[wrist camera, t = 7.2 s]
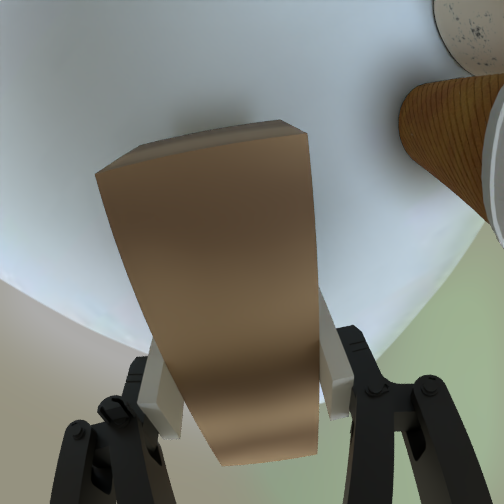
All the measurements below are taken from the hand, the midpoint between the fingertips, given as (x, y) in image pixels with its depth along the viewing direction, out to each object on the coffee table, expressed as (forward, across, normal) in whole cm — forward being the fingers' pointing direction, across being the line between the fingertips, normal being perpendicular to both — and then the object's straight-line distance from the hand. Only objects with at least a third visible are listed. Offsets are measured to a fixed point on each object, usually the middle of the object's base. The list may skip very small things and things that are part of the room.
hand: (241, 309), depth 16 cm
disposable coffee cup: (+7, +15, +7) cm, 18 cm away
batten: (+1, 0, 0) cm, 1 cm away
